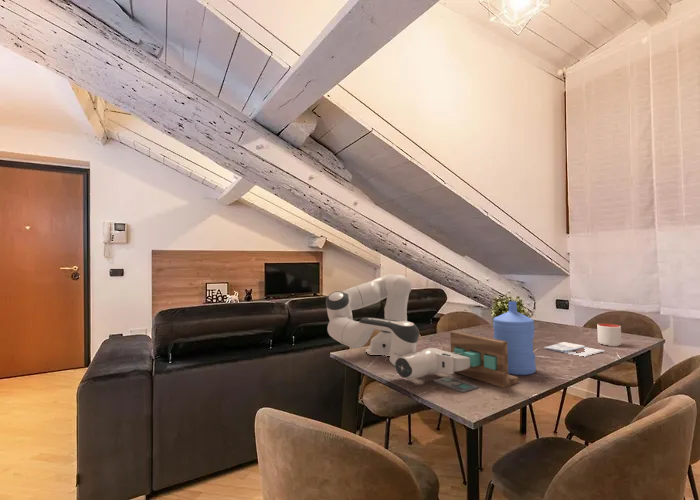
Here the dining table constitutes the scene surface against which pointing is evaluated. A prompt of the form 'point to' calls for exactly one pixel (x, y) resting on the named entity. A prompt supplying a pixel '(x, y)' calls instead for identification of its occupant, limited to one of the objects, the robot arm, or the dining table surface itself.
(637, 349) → the dining table surface
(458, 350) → the button far
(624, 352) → the dining table surface
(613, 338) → the cup
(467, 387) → the card
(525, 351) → the water jug
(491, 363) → the button near
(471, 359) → the button middle
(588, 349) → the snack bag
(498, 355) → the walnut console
